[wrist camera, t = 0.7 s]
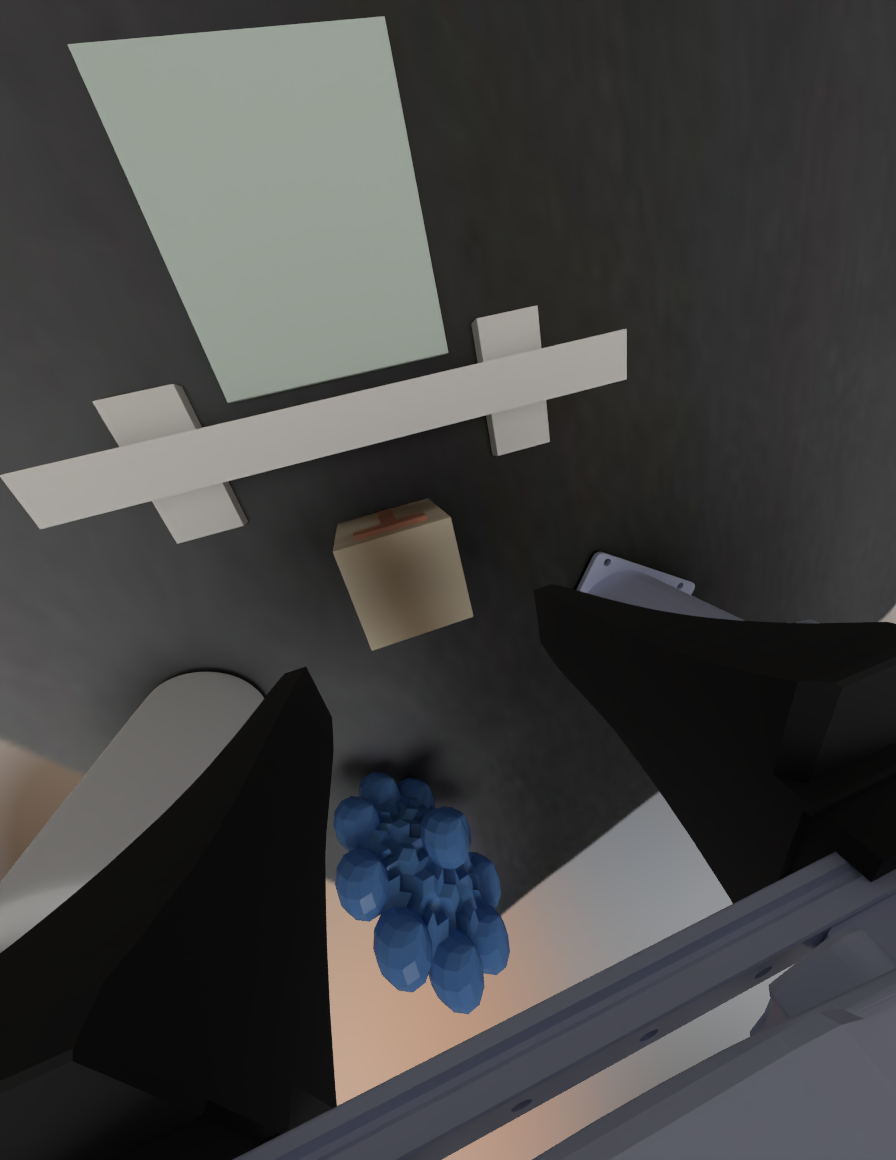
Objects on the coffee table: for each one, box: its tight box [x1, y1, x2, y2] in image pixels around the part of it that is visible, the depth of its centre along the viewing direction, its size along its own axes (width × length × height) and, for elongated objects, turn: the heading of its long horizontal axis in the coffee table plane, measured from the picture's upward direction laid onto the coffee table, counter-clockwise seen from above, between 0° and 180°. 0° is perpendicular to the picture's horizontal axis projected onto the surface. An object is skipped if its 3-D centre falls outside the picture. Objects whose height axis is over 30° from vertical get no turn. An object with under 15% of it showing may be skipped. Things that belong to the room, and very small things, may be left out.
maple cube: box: [333, 498, 473, 651], centre depth 17 cm, size 5×5×5 cm
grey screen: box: [0, 306, 627, 544], centre depth 14 cm, size 20×6×6 cm, turn 103°
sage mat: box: [68, 16, 448, 403], centre depth 14 cm, size 10×10×1 cm
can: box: [0, 672, 264, 953], centre depth 15 cm, size 6×6×12 cm
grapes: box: [334, 772, 510, 1014], centre depth 21 cm, size 12×7×12 cm, turn 55°
